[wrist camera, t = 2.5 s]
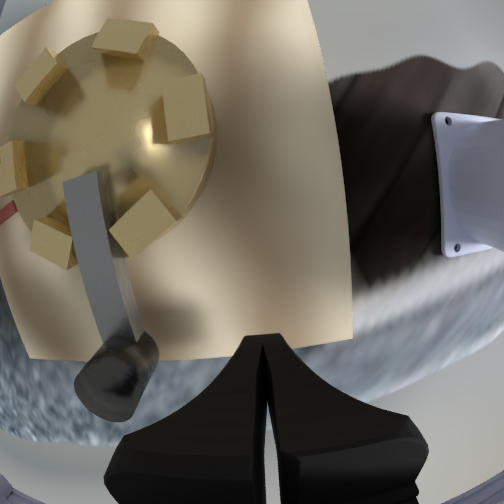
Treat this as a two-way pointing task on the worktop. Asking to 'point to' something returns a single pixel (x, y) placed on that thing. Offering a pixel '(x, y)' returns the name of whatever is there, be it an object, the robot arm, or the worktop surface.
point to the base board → (208, 191)
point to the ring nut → (109, 180)
